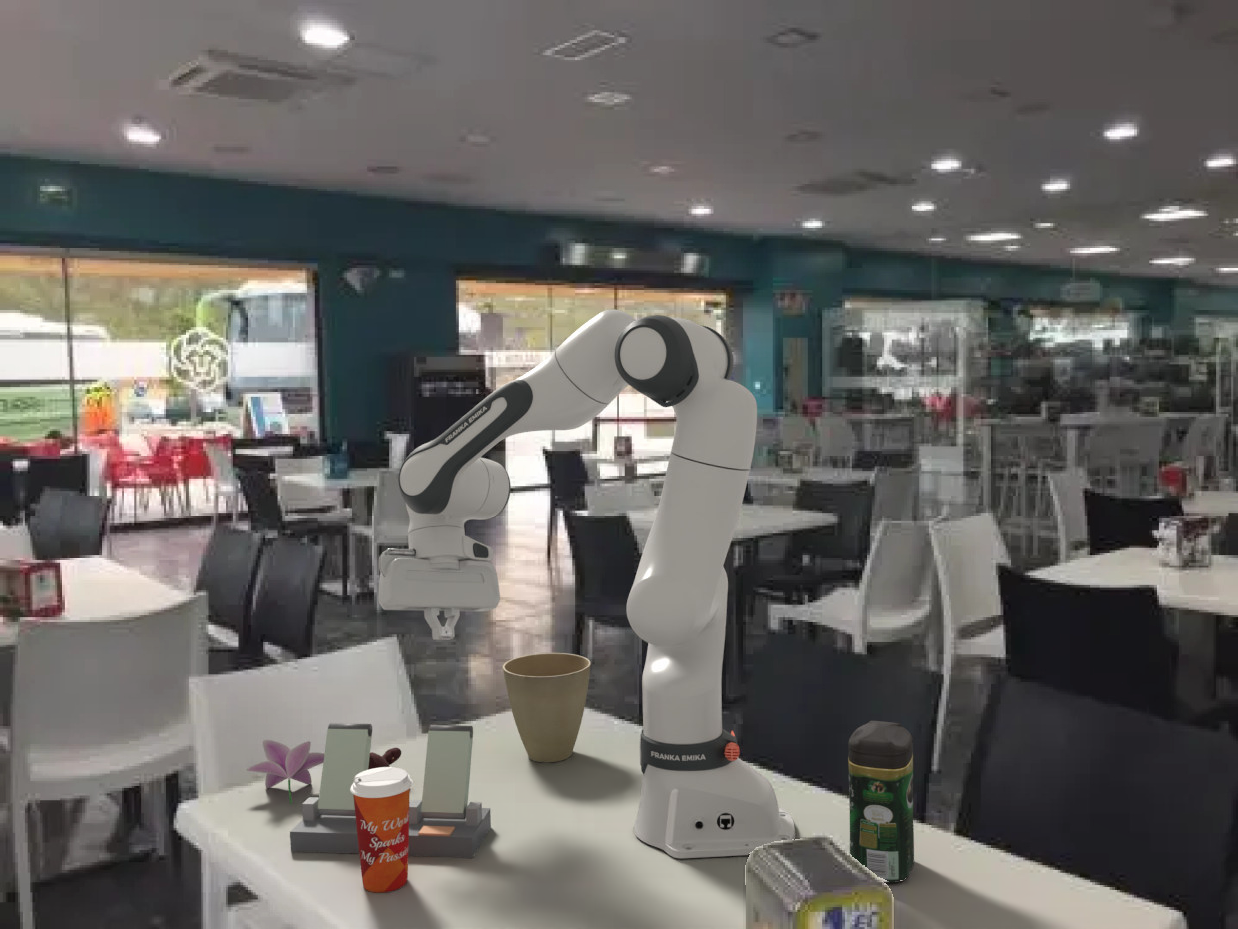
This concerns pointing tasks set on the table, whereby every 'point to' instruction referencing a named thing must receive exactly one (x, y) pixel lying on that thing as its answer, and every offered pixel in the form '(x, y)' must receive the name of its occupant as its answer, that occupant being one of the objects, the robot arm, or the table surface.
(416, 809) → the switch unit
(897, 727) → the coffee jar
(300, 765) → the lily
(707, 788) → the robot arm
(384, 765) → the icecream
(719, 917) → the table surface
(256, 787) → the table surface
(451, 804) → the lever
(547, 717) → the plant pot
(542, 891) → the table surface
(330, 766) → the lever
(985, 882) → the table surface
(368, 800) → the paper cup
